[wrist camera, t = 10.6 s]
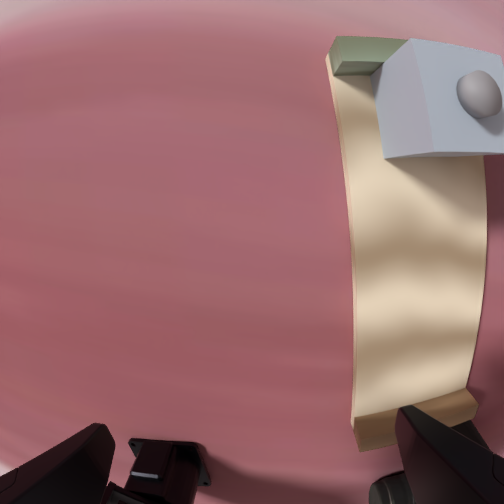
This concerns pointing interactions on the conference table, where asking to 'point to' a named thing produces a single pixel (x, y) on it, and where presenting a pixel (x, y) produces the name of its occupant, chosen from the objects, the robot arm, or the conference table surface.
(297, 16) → the conference table surface
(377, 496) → the camera
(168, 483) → the robot arm
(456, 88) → the block
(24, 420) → the conference table surface
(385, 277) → the track
